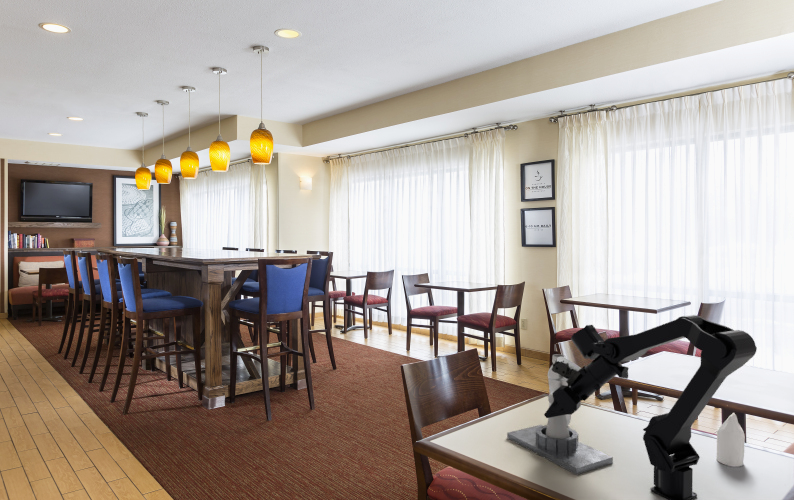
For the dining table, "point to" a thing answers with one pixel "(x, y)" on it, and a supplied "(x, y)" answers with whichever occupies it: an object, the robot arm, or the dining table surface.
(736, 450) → the white pointed cylinder
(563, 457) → the plate with ring
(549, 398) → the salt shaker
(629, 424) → the dining table surface
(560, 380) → the plastic bottle
